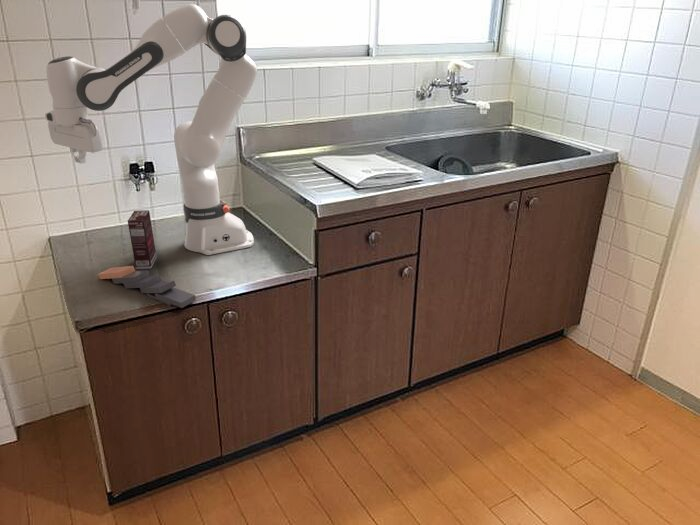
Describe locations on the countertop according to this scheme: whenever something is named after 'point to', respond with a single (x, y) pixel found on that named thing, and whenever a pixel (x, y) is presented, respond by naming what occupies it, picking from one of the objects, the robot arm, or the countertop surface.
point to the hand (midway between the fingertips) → (80, 162)
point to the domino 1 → (116, 272)
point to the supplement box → (142, 239)
